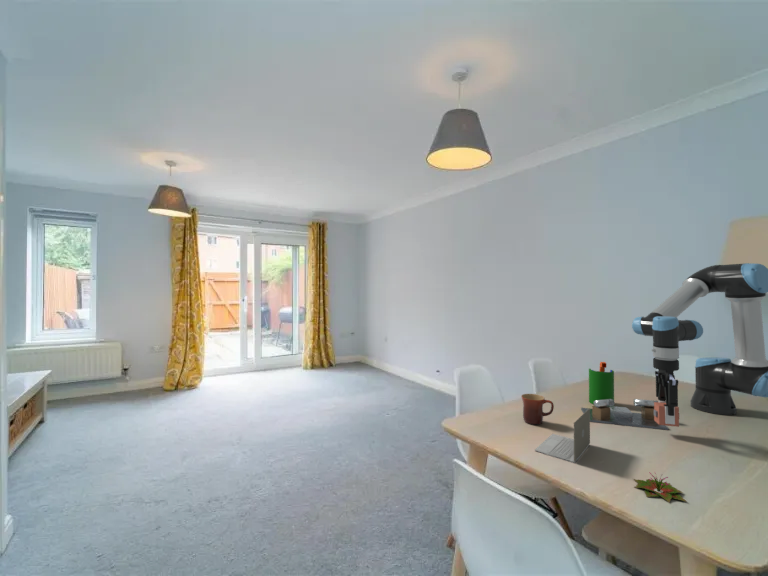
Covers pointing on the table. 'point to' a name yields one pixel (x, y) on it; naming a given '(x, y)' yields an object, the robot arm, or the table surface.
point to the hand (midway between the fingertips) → (666, 420)
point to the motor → (601, 384)
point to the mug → (534, 408)
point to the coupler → (660, 414)
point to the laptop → (569, 441)
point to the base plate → (631, 415)
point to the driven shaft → (602, 409)
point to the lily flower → (663, 486)
